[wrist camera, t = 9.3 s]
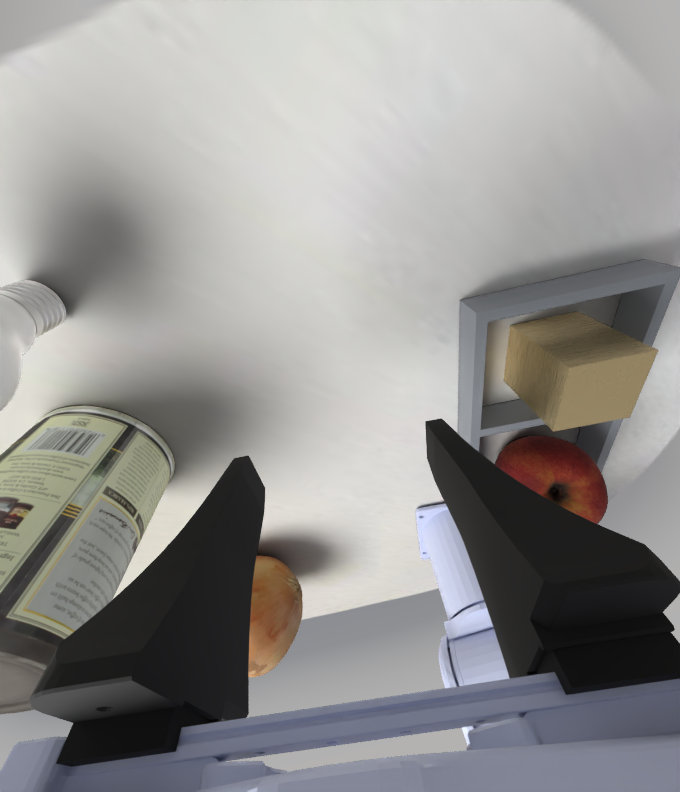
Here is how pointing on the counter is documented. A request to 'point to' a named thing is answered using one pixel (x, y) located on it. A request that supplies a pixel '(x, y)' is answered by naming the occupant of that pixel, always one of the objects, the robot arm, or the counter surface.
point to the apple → (557, 474)
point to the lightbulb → (23, 328)
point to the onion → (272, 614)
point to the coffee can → (69, 530)
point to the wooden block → (576, 370)
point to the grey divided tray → (636, 314)
